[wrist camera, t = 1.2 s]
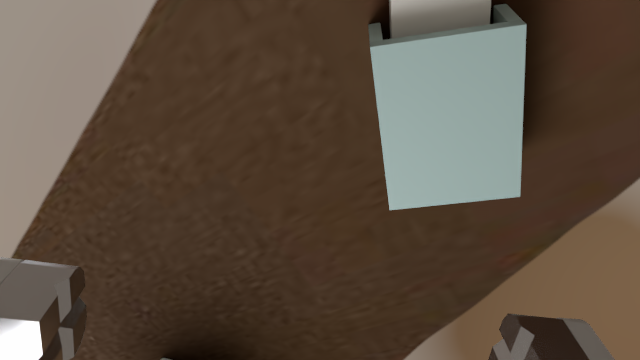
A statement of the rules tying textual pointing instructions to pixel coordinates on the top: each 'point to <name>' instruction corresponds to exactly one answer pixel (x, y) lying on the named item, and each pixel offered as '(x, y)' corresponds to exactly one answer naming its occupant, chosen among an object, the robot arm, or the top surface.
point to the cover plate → (436, 16)
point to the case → (451, 112)
